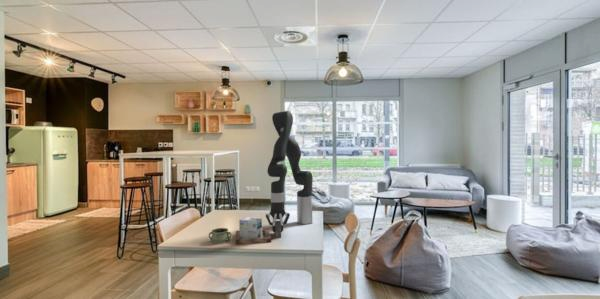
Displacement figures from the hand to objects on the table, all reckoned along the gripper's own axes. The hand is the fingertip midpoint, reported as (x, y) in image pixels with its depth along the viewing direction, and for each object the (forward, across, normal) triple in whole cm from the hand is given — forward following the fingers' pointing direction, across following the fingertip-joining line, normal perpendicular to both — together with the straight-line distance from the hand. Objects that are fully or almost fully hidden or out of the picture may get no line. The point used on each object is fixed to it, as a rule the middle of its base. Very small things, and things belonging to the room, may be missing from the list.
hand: (277, 232), depth 171 cm
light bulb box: (+3, +14, 0) cm, 15 cm away
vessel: (+3, +30, +2) cm, 31 cm away
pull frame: (+3, +11, 0) cm, 11 cm away
